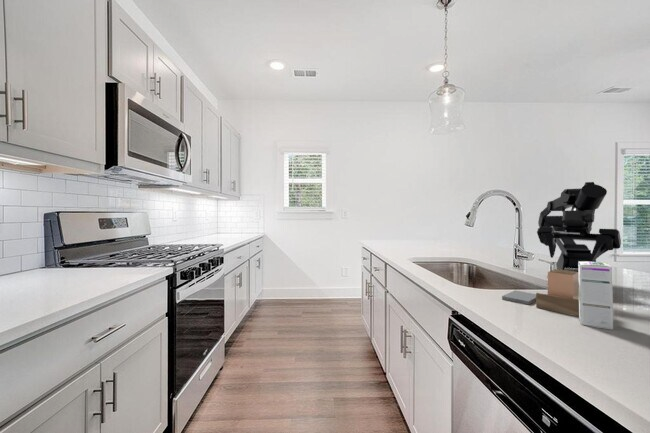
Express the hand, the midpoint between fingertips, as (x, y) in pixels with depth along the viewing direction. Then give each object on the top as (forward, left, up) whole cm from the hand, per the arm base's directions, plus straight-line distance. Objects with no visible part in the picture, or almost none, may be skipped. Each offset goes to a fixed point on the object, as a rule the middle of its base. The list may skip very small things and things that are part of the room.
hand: (570, 258), depth 85 cm
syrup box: (+15, +8, -13) cm, 21 cm away
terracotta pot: (+7, 0, -13) cm, 15 cm away
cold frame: (+7, 0, -13) cm, 15 cm away
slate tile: (+6, -11, -13) cm, 18 cm away
